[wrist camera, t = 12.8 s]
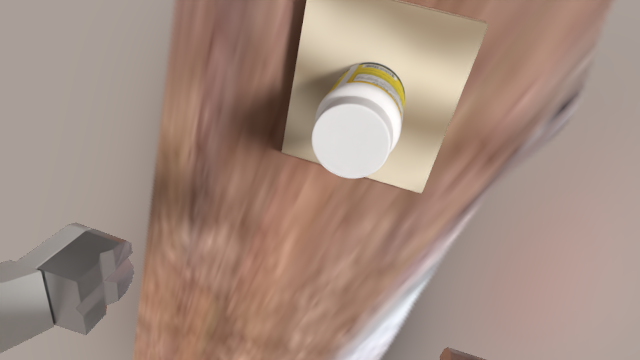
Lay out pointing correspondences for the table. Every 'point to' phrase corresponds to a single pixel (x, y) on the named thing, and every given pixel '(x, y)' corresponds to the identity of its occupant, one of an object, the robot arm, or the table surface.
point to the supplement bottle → (359, 120)
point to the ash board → (398, 54)
